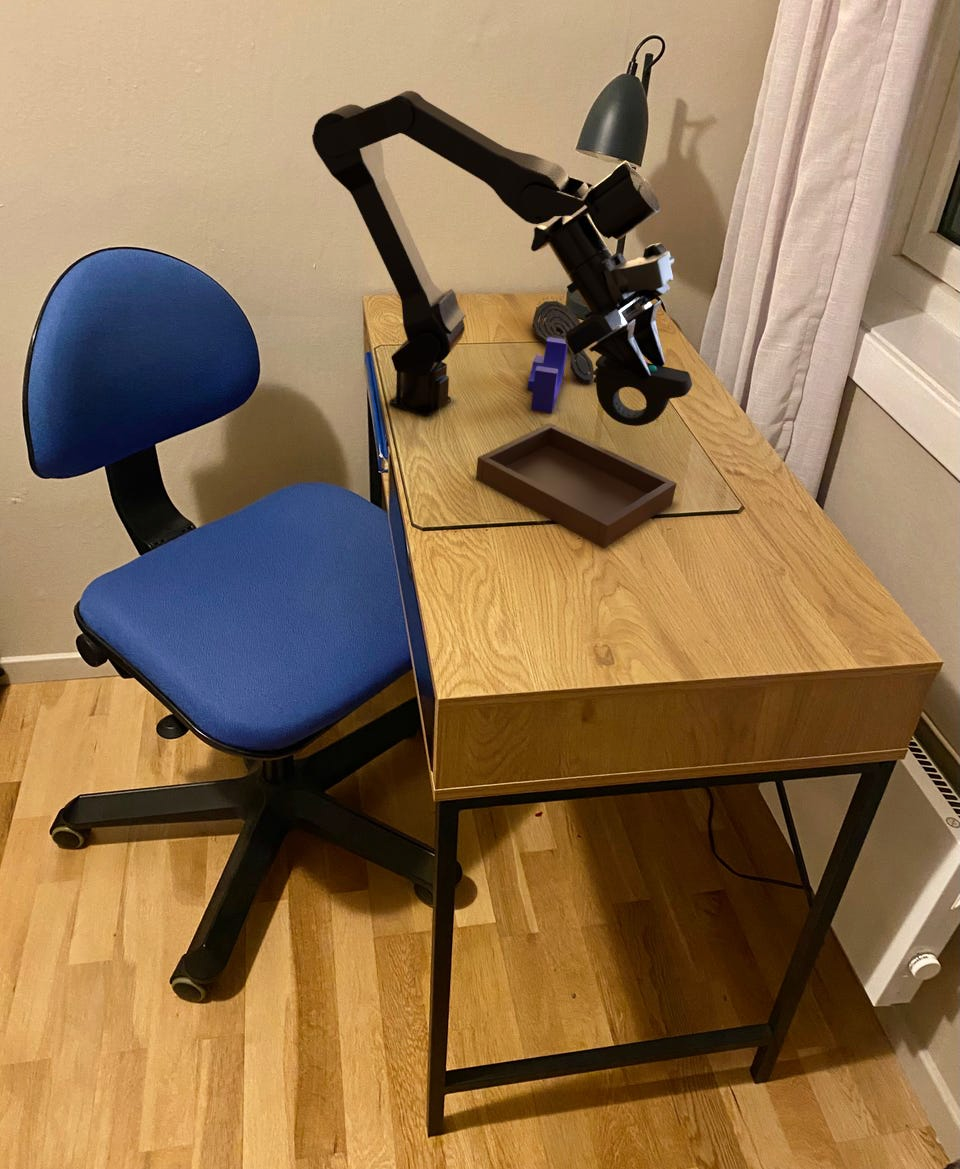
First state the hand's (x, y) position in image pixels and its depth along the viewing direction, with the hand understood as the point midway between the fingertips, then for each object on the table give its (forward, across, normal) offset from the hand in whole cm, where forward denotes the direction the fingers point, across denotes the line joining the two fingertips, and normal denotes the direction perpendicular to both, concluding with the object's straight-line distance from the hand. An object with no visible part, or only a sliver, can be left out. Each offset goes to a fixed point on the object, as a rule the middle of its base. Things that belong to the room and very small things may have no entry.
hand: (654, 372), depth 118 cm
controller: (+5, 0, +6) cm, 8 cm away
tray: (+6, -13, +11) cm, 18 cm away
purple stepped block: (-5, +9, +22) cm, 25 cm away
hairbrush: (-8, +25, +25) cm, 37 cm away
